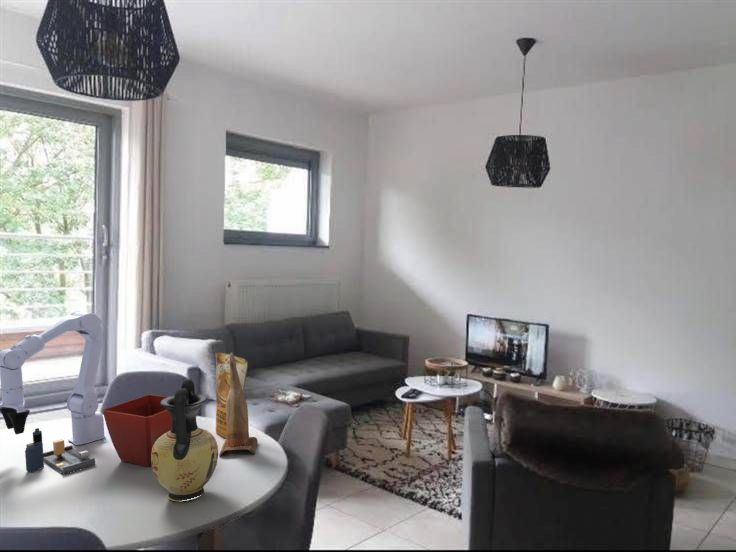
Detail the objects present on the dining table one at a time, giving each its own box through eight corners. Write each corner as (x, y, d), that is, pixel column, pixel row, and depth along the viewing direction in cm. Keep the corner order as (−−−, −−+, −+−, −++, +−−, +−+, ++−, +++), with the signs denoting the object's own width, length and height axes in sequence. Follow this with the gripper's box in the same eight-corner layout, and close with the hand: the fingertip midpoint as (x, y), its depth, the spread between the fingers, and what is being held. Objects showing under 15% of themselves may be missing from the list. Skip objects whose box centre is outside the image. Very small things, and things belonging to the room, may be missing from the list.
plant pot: (196, 450, 182) (193, 399, 181) (150, 473, 165) (147, 417, 164) (151, 443, 190) (149, 393, 189) (104, 464, 173) (100, 410, 172)
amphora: (220, 504, 144) (215, 389, 142) (150, 515, 140) (144, 395, 138) (218, 477, 161) (214, 373, 159) (155, 485, 157) (150, 379, 154)
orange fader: (62, 454, 178) (61, 439, 178) (65, 455, 177) (64, 440, 177) (53, 456, 176) (53, 441, 176) (56, 458, 175) (55, 442, 175)
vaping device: (46, 466, 172) (43, 427, 171) (30, 473, 167) (28, 433, 166) (39, 465, 173) (37, 427, 172) (24, 472, 168) (21, 432, 167)
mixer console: (72, 451, 184) (71, 439, 184) (95, 465, 172) (94, 452, 172) (41, 459, 178) (40, 447, 177) (63, 474, 166) (63, 461, 165)
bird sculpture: (257, 443, 188) (253, 347, 187) (255, 455, 177) (251, 353, 176) (223, 446, 187) (218, 350, 186) (219, 458, 175) (214, 356, 174)
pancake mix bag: (226, 426, 205) (223, 350, 203) (252, 439, 191) (249, 357, 189) (209, 430, 201) (205, 353, 199) (234, 444, 186) (231, 361, 185)
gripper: (-10, 386, 177) (-7, 429, 178) (4, 394, 167) (8, 439, 168) (15, 382, 182) (19, 423, 183) (31, 389, 172) (34, 433, 173)
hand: (15, 430), depth 176 cm, fingers open, 7 cm apart
